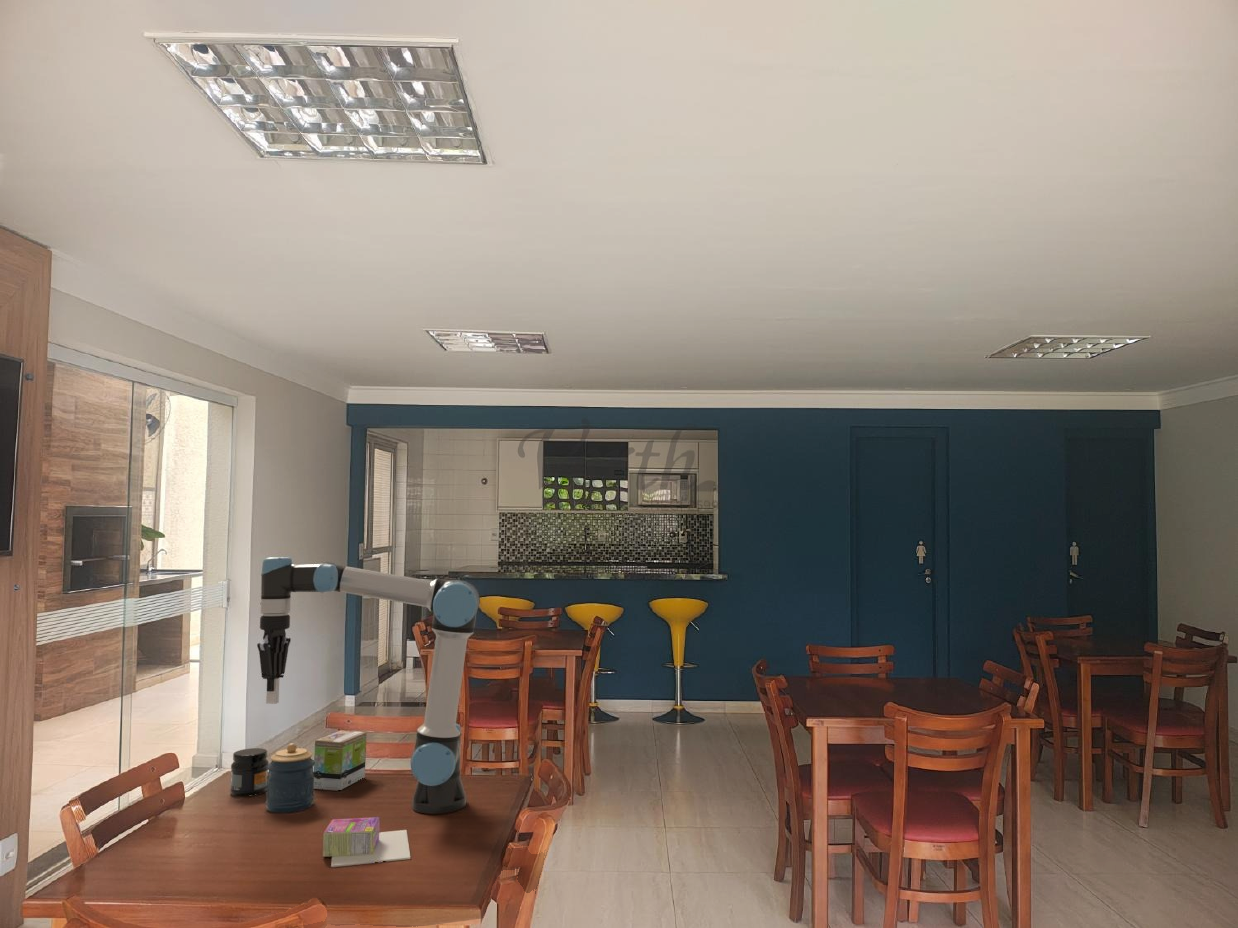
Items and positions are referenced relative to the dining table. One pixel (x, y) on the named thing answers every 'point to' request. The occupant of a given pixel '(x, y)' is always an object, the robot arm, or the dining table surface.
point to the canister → (290, 780)
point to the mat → (380, 850)
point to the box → (351, 837)
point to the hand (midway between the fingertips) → (272, 702)
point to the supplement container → (249, 772)
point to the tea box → (339, 760)
